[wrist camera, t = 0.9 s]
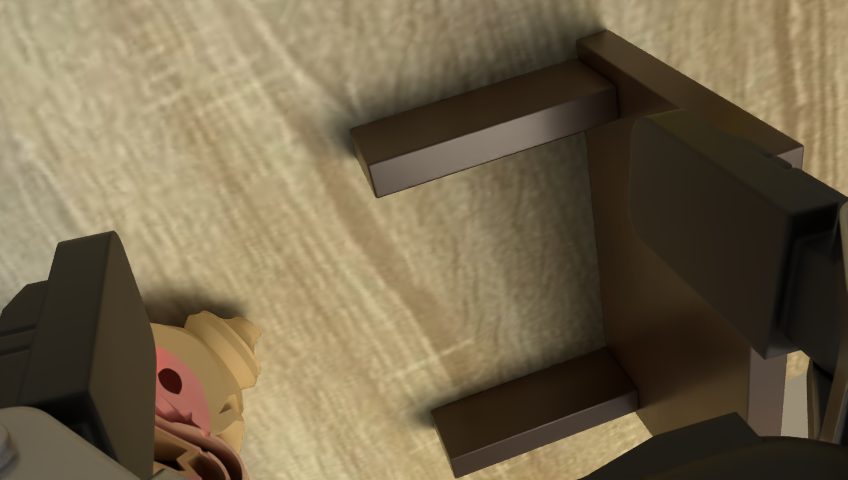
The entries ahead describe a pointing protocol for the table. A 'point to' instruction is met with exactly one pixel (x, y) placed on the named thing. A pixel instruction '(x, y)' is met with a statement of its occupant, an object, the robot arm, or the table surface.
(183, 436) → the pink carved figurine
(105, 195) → the table surface
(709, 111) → the wooden footstool
